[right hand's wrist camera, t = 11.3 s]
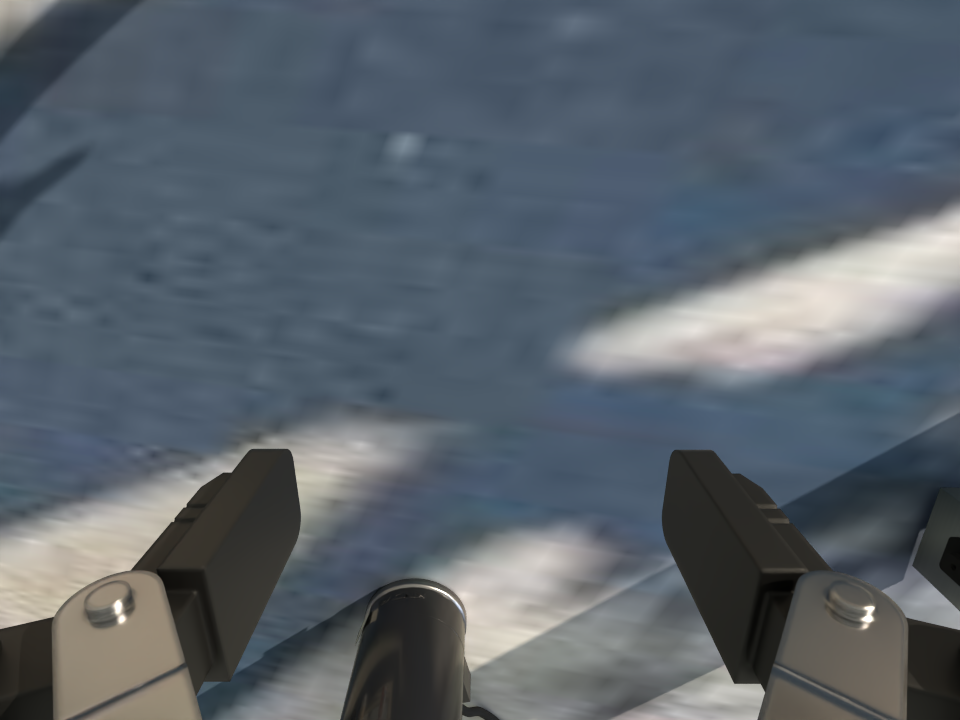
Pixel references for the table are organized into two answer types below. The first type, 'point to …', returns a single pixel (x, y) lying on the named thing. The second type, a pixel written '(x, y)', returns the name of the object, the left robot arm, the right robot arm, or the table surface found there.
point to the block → (940, 543)
